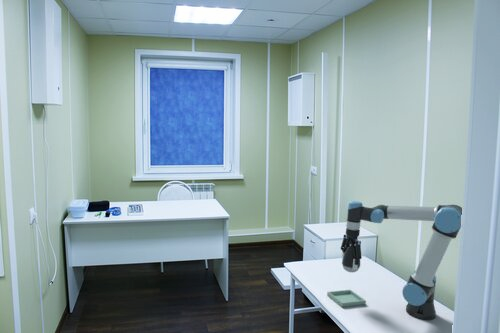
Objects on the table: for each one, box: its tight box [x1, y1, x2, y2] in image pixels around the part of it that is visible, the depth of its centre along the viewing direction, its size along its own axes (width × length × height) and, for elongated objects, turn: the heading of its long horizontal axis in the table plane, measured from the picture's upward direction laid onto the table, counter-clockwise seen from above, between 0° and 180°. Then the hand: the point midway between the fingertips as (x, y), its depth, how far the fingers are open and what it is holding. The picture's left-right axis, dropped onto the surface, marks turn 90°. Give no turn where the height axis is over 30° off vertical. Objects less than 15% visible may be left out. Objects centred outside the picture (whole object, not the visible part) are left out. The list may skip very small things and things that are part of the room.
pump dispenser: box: [341, 244, 361, 273], centre depth 230 cm, size 10×10×15 cm
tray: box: [326, 289, 367, 308], centre depth 232 cm, size 16×16×2 cm
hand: (349, 266), depth 231 cm, fingers closed on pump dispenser, 10 cm apart
